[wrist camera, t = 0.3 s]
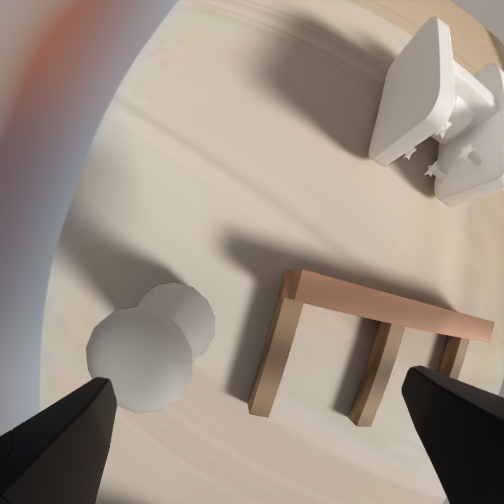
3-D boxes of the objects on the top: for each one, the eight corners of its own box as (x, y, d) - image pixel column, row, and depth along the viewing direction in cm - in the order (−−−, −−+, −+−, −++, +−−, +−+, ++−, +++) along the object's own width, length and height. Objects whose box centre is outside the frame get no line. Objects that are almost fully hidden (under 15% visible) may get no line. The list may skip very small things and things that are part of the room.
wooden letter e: (429, 417, 23) (456, 434, 19) (247, 403, 22) (253, 432, 17) (461, 317, 25) (494, 322, 20) (285, 270, 23) (302, 269, 18)
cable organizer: (384, 66, 26) (433, 5, 15) (452, 111, 27) (510, 70, 15) (359, 166, 25) (436, 104, 13) (442, 215, 25) (528, 189, 14)
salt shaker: (152, 358, 22) (87, 437, 9) (137, 288, 22) (46, 302, 9) (223, 347, 22) (225, 428, 9) (208, 276, 22) (190, 276, 10)
